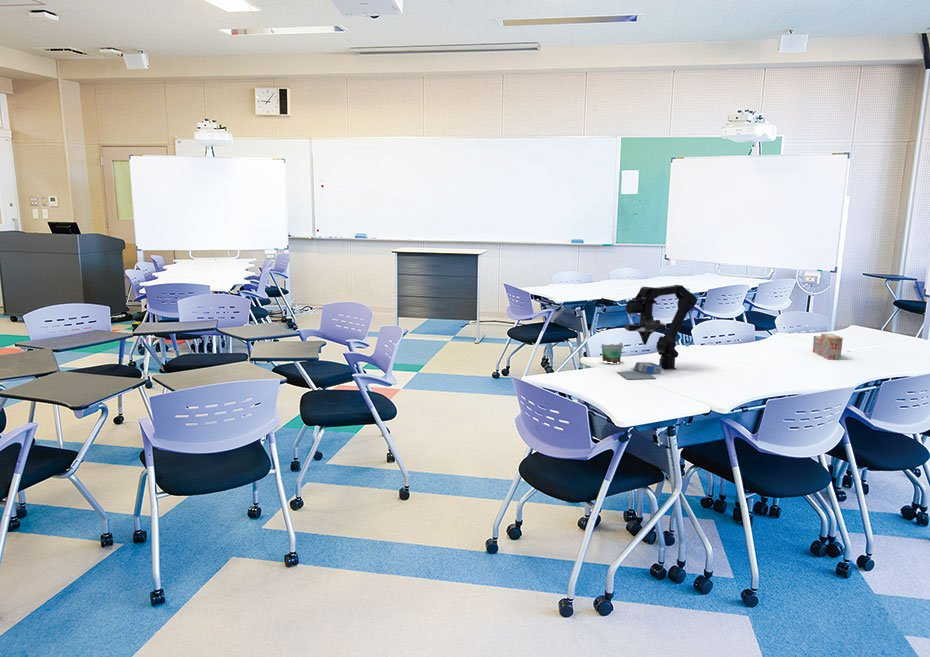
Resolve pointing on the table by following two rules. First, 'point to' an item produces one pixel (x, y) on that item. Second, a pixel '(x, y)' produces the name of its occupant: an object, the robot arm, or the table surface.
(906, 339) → the table surface
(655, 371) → the label tape cartridge
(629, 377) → the mat
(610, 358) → the food container
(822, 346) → the printed cardboard box
